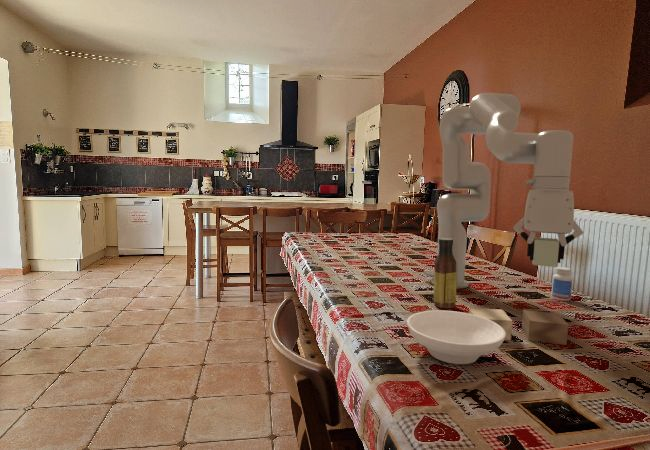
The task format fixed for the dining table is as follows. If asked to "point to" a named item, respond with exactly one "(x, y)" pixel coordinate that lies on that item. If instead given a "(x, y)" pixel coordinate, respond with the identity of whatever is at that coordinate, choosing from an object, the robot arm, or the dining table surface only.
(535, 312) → the tan square block
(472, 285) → the dining table surface
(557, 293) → the pill bottle
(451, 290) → the sauce bottle
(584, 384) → the dining table surface
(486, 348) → the bowl
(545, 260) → the sage block
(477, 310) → the beech block
